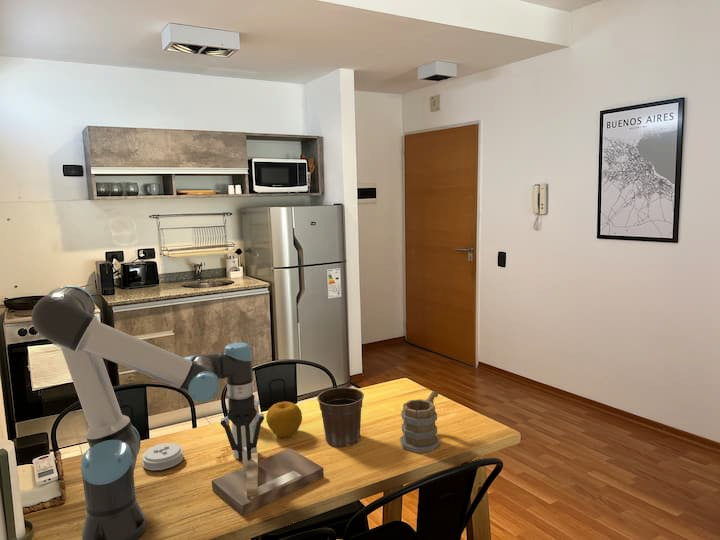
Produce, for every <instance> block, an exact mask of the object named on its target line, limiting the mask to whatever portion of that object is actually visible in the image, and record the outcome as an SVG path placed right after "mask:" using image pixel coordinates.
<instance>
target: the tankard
mask: <svg viewBox="0 0 720 540" xmlns="http://www.w3.org/2000/svg"><path fill="white" fill-rule="evenodd" d="M438 396H439V392H438V391H435V390H432V391H431V392H430V394H429V396H428V397H427V399H410V400H408V401H406V402H405V403H402V404H403V405H402V410H401V413H400V414H401V418H402V421H403V423H402V424H401V432H402V434H403V435H401V436H400V437H399V442H400V445H401V447H402V449H403V450H405V451H409V452H412V453H414V454H415V453H416V454H421V453H430V452H433V451H435V449H437V448H438V447H439V446H440V444H441V443H440V440H439V438H438V436H437V434H438V427H437V425H436V421H438V413H437V411H436V405H435V404H434V403H435V402H434V400H435V398H438Z"/></svg>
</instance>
